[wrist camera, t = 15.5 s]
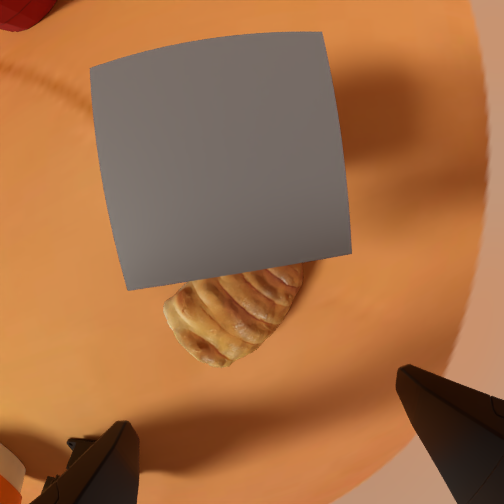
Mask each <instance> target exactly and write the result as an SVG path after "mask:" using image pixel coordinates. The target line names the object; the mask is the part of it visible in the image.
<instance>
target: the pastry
mask: <svg viewBox="0 0 504 504" xmlns="http://www.w3.org/2000/svg"><path fill="white" fill-rule="evenodd" d="M302 282H303V267H302V263H297V264H292V265H286V266H280V267H274V268H268V269H262V270H256V271H250V272H244V273H238V274H232V275H226V276H220V277H214V278H208V279H201V280H195V281H189V282H187V283H186V284H184V286H183V287H182V288H181V289H180V290H179V291H178V292H177V293H176V294H175V295H174V296H173V297H171V298H169V299H167V300H166V301H165V303H164V306H163V312H164V314H165V316H166V319H167V323H168V325H169V326H170V328H171V329H172V330H173V332H174V335H175V337H176V339H177V340H178V342H179V343H180V344H181V345H182V346H183V347H184V348H185V349H186V350H187V351H188V352H189V353H190V354H191V355H192V356H194V357H195V358H196V359H197V360H198V361H200V362H203V363H207V364H209V365H210V366H213V367H220V368H221V367H229V366H230V365H231V364H232V363H233V362H234V361H236V360H238V359H240V358H242V357H244V356H246V355H248V354H250V353H252V352H253V351H255V350H257V349H258V348H259V346H260V345H261V344H262V343H263V342H264V341H265V339H267V338H268V337H269V336H271V335H272V334H273V332H274V331H275V330H276V328H277V327H278V325H280V324H281V323H282V321H283V320H284V317H285V315H286V314H287V312H288V311H289V309H290V306H291V303H292V301H293V299H294V297H295V295H296V294H297V292H298V290H299V289H300V287H301V286H302Z"/></svg>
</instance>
